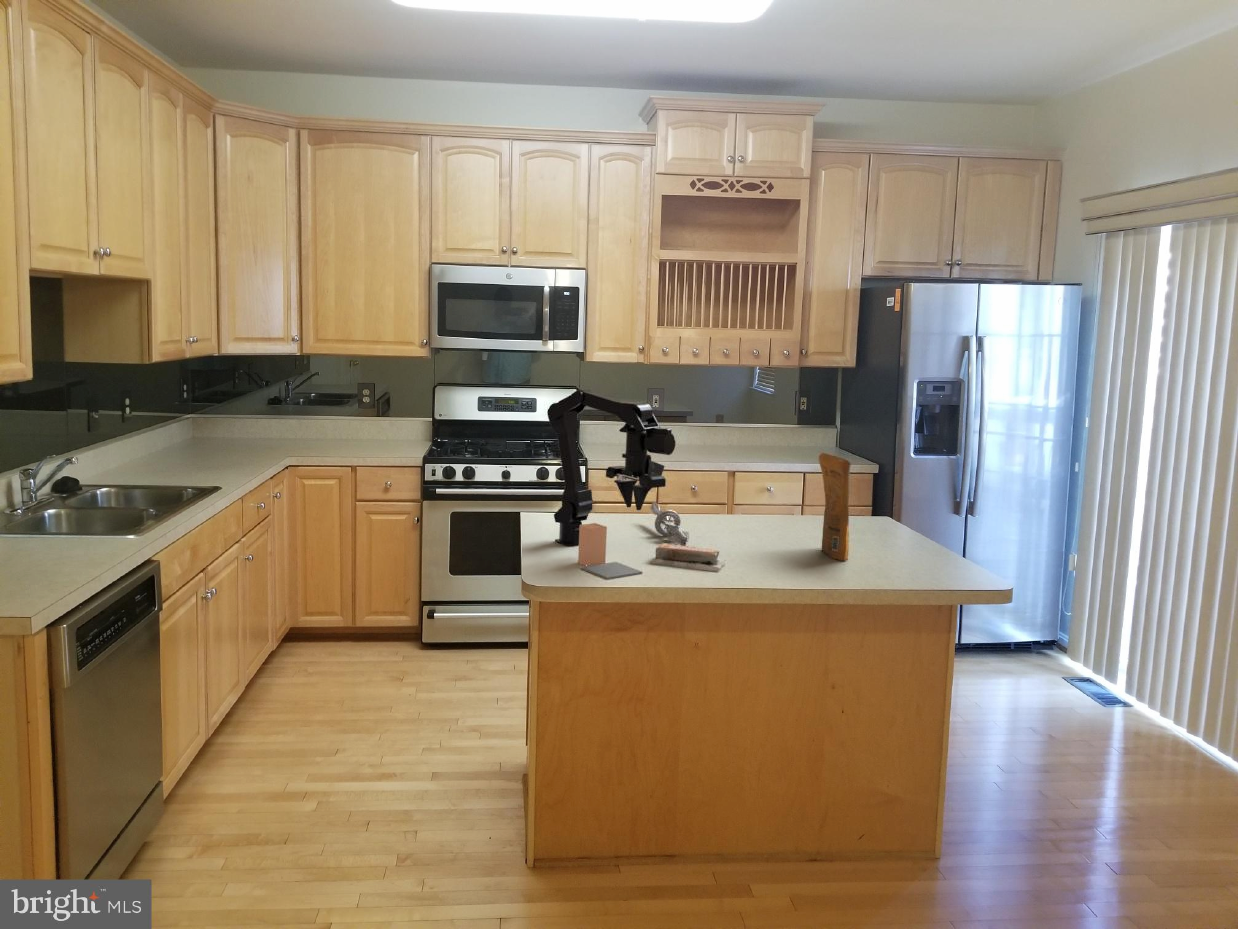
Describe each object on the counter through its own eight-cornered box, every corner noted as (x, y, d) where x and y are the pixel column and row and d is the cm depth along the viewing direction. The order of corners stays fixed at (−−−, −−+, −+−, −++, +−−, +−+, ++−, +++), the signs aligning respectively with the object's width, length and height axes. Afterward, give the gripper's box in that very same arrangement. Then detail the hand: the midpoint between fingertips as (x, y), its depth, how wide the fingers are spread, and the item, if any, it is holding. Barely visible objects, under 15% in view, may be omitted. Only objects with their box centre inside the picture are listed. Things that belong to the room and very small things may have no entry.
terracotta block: (578, 562, 257) (579, 525, 256) (593, 560, 260) (595, 523, 259) (589, 567, 253) (591, 528, 252) (605, 564, 257) (606, 526, 255)
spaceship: (668, 497, 308) (646, 488, 306) (703, 535, 276) (679, 525, 273) (656, 520, 310) (634, 511, 307) (691, 560, 277) (666, 550, 274)
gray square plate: (581, 569, 251) (581, 567, 251) (615, 563, 258) (615, 561, 258) (607, 579, 243) (607, 577, 243) (642, 573, 249) (642, 571, 249)
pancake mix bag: (830, 562, 269) (839, 460, 265) (810, 545, 288) (817, 449, 283) (854, 563, 270) (863, 461, 265) (832, 546, 289) (840, 450, 284)
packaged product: (652, 547, 259) (662, 539, 268) (651, 565, 260) (661, 557, 269) (720, 555, 254) (727, 546, 263) (719, 573, 254) (726, 564, 264)
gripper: (683, 453, 259) (679, 512, 262) (638, 444, 274) (635, 499, 276) (650, 456, 253) (647, 516, 255) (605, 446, 267) (603, 503, 270)
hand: (633, 508), depth 264 cm, fingers open, 4 cm apart
